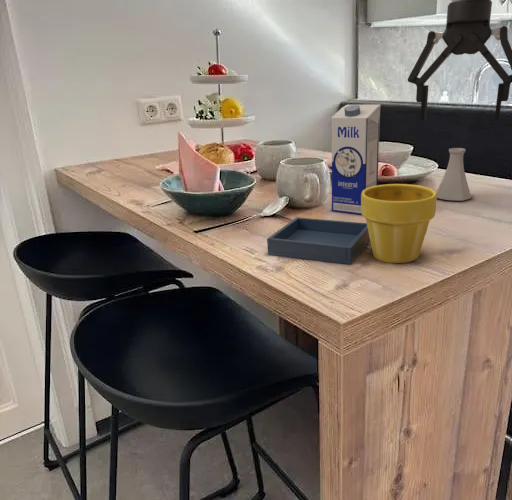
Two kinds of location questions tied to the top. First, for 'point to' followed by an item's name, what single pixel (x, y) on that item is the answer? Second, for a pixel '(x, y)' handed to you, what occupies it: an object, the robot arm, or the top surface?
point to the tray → (320, 240)
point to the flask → (454, 178)
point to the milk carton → (354, 155)
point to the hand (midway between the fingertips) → (459, 119)
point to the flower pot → (397, 219)
